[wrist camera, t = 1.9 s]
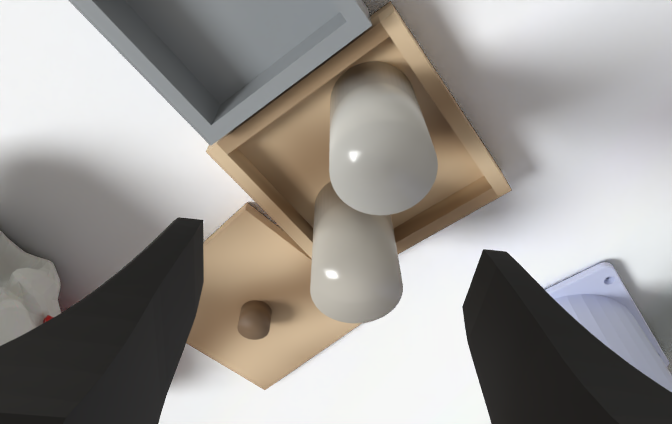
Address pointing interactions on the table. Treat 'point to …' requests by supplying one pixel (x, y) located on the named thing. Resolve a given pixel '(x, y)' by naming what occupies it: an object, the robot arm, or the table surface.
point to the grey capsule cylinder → (353, 261)
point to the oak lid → (259, 302)
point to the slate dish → (225, 49)
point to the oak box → (314, 142)
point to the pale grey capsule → (379, 141)
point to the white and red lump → (25, 291)
